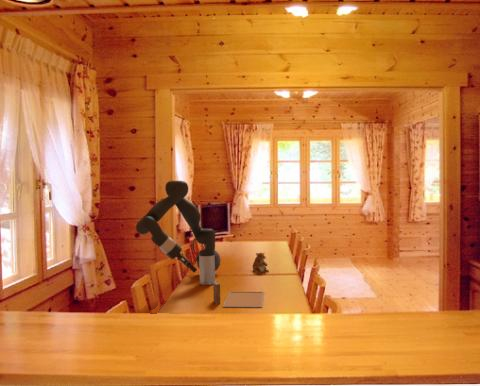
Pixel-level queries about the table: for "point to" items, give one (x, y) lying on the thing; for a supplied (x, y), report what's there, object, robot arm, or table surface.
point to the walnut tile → (216, 292)
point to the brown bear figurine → (259, 263)
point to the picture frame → (244, 300)
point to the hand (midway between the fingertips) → (194, 269)
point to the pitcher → (216, 257)
